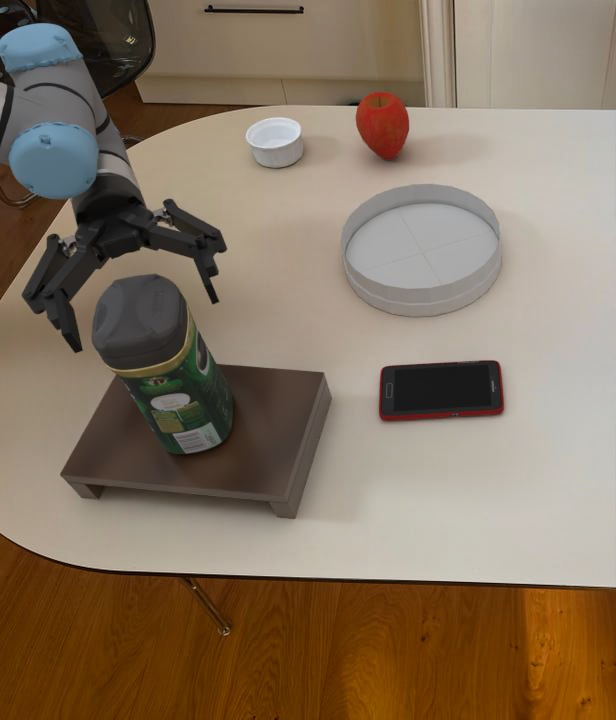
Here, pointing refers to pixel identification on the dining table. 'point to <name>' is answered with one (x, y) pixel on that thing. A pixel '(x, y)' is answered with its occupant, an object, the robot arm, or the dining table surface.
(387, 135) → the apple
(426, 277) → the dish
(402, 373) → the cell phone
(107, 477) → the shelf
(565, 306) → the dining table surface
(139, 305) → the coffee jar
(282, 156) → the ramekin
